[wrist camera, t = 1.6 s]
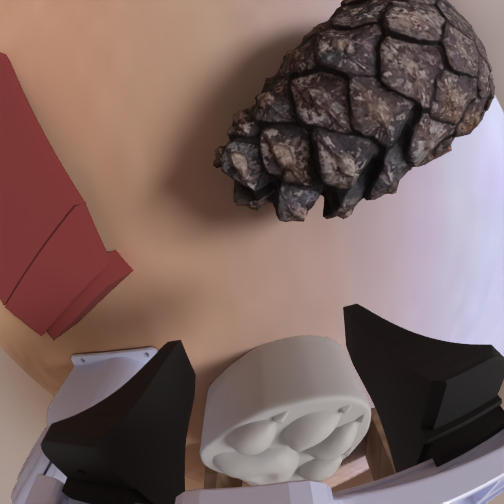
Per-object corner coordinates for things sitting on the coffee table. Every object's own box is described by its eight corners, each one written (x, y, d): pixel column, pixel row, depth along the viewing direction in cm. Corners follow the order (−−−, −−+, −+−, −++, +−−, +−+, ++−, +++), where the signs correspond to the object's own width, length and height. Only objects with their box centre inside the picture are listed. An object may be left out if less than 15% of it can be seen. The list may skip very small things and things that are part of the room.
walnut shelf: (232, 479, 30) (231, 552, 19) (208, 440, 27) (200, 531, 16) (373, 451, 29) (398, 521, 18) (379, 406, 26) (417, 491, 15)
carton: (-29, 144, 20) (68, 332, 23) (-60, 143, 15) (37, 355, 18) (27, 57, 18) (151, 254, 21) (-5, 45, 13) (119, 271, 16)
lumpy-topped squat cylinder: (191, 394, 25) (178, 471, 17) (298, 307, 22) (324, 385, 14) (270, 439, 27) (276, 506, 19) (370, 370, 25) (405, 439, 16)
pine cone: (197, 159, 19) (150, 163, 9) (361, -1, 15) (421, -67, 5) (311, 258, 21) (359, 337, 12) (452, 96, 17) (544, 84, 8)
